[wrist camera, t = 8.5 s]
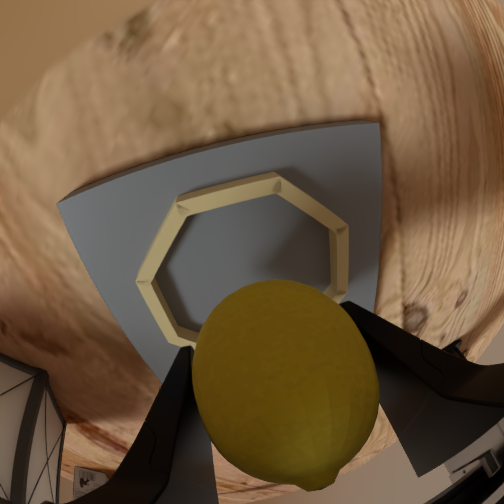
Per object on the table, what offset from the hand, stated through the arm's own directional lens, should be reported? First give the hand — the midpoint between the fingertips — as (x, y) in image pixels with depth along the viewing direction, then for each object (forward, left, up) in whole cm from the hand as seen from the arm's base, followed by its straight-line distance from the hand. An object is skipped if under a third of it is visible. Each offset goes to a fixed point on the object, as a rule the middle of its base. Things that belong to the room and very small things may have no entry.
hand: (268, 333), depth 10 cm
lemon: (0, 0, -2) cm, 2 cm away
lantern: (+25, +7, -5) cm, 27 cm away
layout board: (0, +4, -5) cm, 6 cm away
